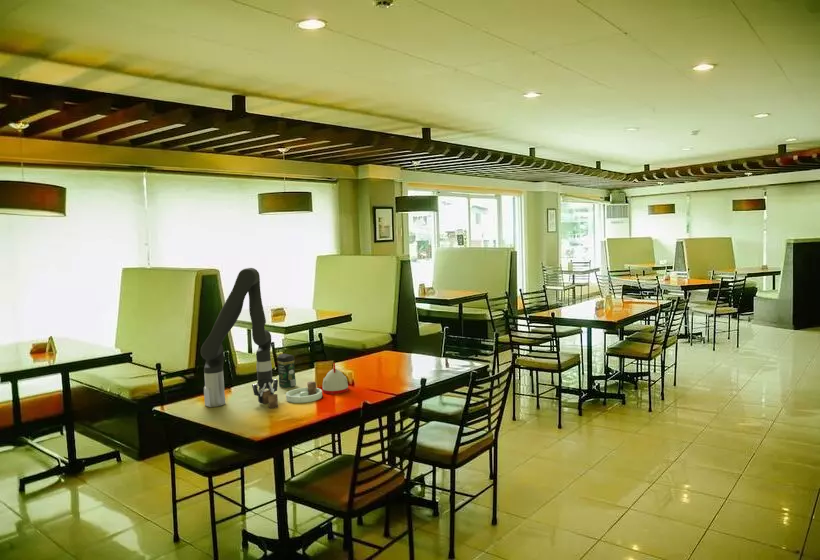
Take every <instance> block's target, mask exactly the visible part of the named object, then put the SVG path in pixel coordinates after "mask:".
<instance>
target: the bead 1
mask: <svg viewBox="0 0 820 560" xmlns="http://www.w3.org/2000/svg"><path fill="white" fill-rule="evenodd" d="M268 395H270V390H269V389H265V390H264V392H263V394H262V398H263V403H261V405H262V404H263V405H269V399H268Z"/></svg>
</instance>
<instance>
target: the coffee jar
mask: <svg viewBox="0 0 820 560" xmlns="http://www.w3.org/2000/svg"><path fill="white" fill-rule="evenodd" d="M277 366H278V386H279V387H281V388H285V389H289V388H294V387H296V386H297V381H296V379H297V378H296V371H295V356H294V355H293V354H288V353H280V354H278V356H277Z"/></svg>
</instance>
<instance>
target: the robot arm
mask: <svg viewBox="0 0 820 560" xmlns="http://www.w3.org/2000/svg"><path fill="white" fill-rule="evenodd" d="M260 278H261V277H260V273H259V270H257V269H256V268H253V267H247V268H246V267H245V268H243V269H241V270H240V271H239V272H238V274H237V276H236V279H235V282H234V285H233V287H232V290H231V291H230V293H229V295H228V297H227V298H226V300H225V302H224V304H223V305H222V308H221V310H220V311H219V313H218V315H217V318H216V320H215V322H214V324H213V327H212V329H211V331H210V333H209V334H208V337H207V338H206V339H205V340H204V342H203V343H202V345H201V347H200V356H201V357H202V359H203V360H205V364H204V367H203V372H204V373H203V374H204V376H203V377H204V387H203V396H204V399H203V400H204V406H205V407H207V408H213V407H215V408H216V407H221V406H223V405H225V404H226V391H225V380H224V379H225V378H224V365H225V364H224V363H225V357H224V355H225V354H224V345H223V341H224V340H225V338H226V336H227V335H228V334H229V332H230V331H231V330H232V329H233V327H234V326H235V324H236V323H237V321H238V319H239V317H240V315H241V313H242V310H243V306H244V301H245V299H246V296H247V294H248V305H249V306H248V310H249V316H250V321H251V333H252V334H251V335H252V340H253V343H254V344H255V345H257V346H258V348H257V350H256V356H255V357H256V378H257V382H256V383H255V384H254V383H252V385H251V386H252V391H253V395H254V396H256V397H257V398H258V399H257V400H258V403H259V404H262V403H263V398H262V394H263V392H264V390H270V395H271V394H275V392H278V386H279V379H275V378H274V379H273V367H272V359H271V358H272V357H271V356H272V355H271V348H272V347H271V346H272V334H271V332H270V331H269V330H267V329H265V325H266V324H267V320H266V315H265V311H264V305H263V301H262V293H261V279H260Z"/></svg>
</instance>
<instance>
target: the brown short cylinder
mask: <svg viewBox="0 0 820 560" xmlns="http://www.w3.org/2000/svg"><path fill="white" fill-rule="evenodd" d="M268 399H269V403H268V409H277V408H279V399H278V394H277V393H274V394H271V395H268Z"/></svg>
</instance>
